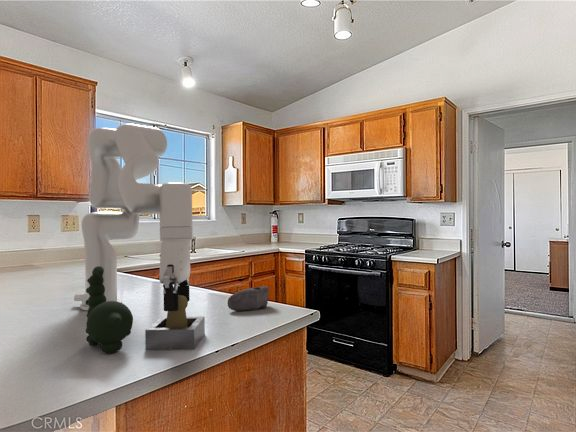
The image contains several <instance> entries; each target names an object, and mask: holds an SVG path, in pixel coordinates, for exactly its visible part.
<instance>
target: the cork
mask: <svg viewBox="0 0 576 432" xmlns="http://www.w3.org/2000/svg"><path fill="white" fill-rule="evenodd" d="M178 304H179V309H178V310H177V311H167V314H166V317H167V321H166V328H188V324H187V317H188V316H187V312H186V311H187V310H186V309H187V307H188V306H189V305H188V304H189V301H188V300H187V298H186V297H185V296H182V295H178Z"/></svg>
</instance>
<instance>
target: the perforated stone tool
mask: <svg viewBox="0 0 576 432" xmlns="http://www.w3.org/2000/svg"><path fill="white" fill-rule="evenodd" d="M269 291H270V288H269V286H267V285H266V286H256V287H249V288H245V289H242V290H239V291H236V292H235V293H233V294H231V295H230V296H229V297H228V299H227V307H228V308H229V309H230V310H231V311H236V312H241V311H245V312H246V311H247V312H248V311H255V310H258V309H260V308H261V309H263V308H266V307H267V306H268V301H269V295H270V294H269Z"/></svg>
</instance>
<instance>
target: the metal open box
mask: <svg viewBox="0 0 576 432" xmlns="http://www.w3.org/2000/svg"><path fill="white" fill-rule="evenodd" d="M186 317H187V324H188V328H166V321H167V316H160V317H159V318H158V319H157V320H156V321H154V322H153V323H152V324H151V325H150V326H148V327H147V328H146V329H145V332H144V333H145V334H144V335H145V336H144V337H145V338H144V340H145V344H144V345H145V350H146V351H150V350H151V351H152V350H153V351H159V350H164V351H165V350H166V351H167V350H168V351H169V350H170V351H171V350H172V351H173V350H174V351H175V350H176V351H178V350H181V351H182V350H195V349H196V348H197V346H198V345H199V343H200V342H201V340H202V339H203V338H204V335H205V334H206V333H205V332H206V331H205V327H206V325H205V323H206V322H205V320H206V318H205V316H186Z"/></svg>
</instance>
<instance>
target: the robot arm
mask: <svg viewBox="0 0 576 432" xmlns="http://www.w3.org/2000/svg"><path fill="white" fill-rule="evenodd" d="M167 140H168V139H167V137H166V134H165V133H164V131H163V130H162V129H160V128H158V127H153V126H147V125H140V124H134V123H123V124H121V125H119V126H117V128H109V127H96V128H93V129H92V130H90V133H89V135H88V140H87V148H88V152H89V158H90V162H91V173H90V186H89V203H90V205H91V206H92V207H94V208H97V209H103V210H109V209H110V210H119V209H120V210H122V211H92V212H89V213H87V214H85V215H84V216H83V218H82V220H81V231H82V232H81V233H82V237H83V242H84V285H85V286H84V287H85V289H84V290H85V291H84V292H85V293H83V294H80V293H78V294H74V297H73V301H75V302H80V301H81V303H80V305H79V308H80V310H83V311H88V309H89V305H87V304H86V300H88V298H89V297H90V295H89V293H87V292H86V289H87V288H89V286H90V284H89V283H88V282H87V280H88V278H90V277H91V276H92V271H93V269H94V268H95V267H97V266H101V267H103V269H104V273H103V276H102V277H103V279H104V282H103V285H104V286H105V293H104V295H105V297H106V302H107V301H117V302H120V303H123V300H121V299H118V272H117V271H118V261H117V260H118V259H117V258H118V255H117V251H116V249H115V248H114V247H113V245H112V244H111V243H110V241H114V240H115V241H117V240H131V239H133V238H134V237H136V235H137V233H138V230H139V223H140V215H159V242H161V245H160V246H161V247H160V256H159V257H160V258H159V283H160V284H161V285H162V287H163V289H162V292H163V311H164V312H168V311H177V310H178V309H179V304H178V295H182V296H185V297H186V298H187V300H188V302H189V301H190V279H189V278H190V275H191V251H190V248H191V247H190V241H193V191H192V190H193V189H192V187H191V185H190V184H189V183H186V182H165V183H162V184H159V183H157V184H156V183H140V182H138V181H137V180H139V179H143V178H145V177H148V176H149V175H151V174H153V173H154V172H155V171H156V170H157V169H158V166H159V161H160V160H159V157H161V156H163V155H164V154H165V153H166V150H167V149H168V148H167V147H168V141H167ZM117 158H122V159H123V162H124V165H123V167H122V168H121V165H120V163H119V160H118V159H117Z"/></svg>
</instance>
